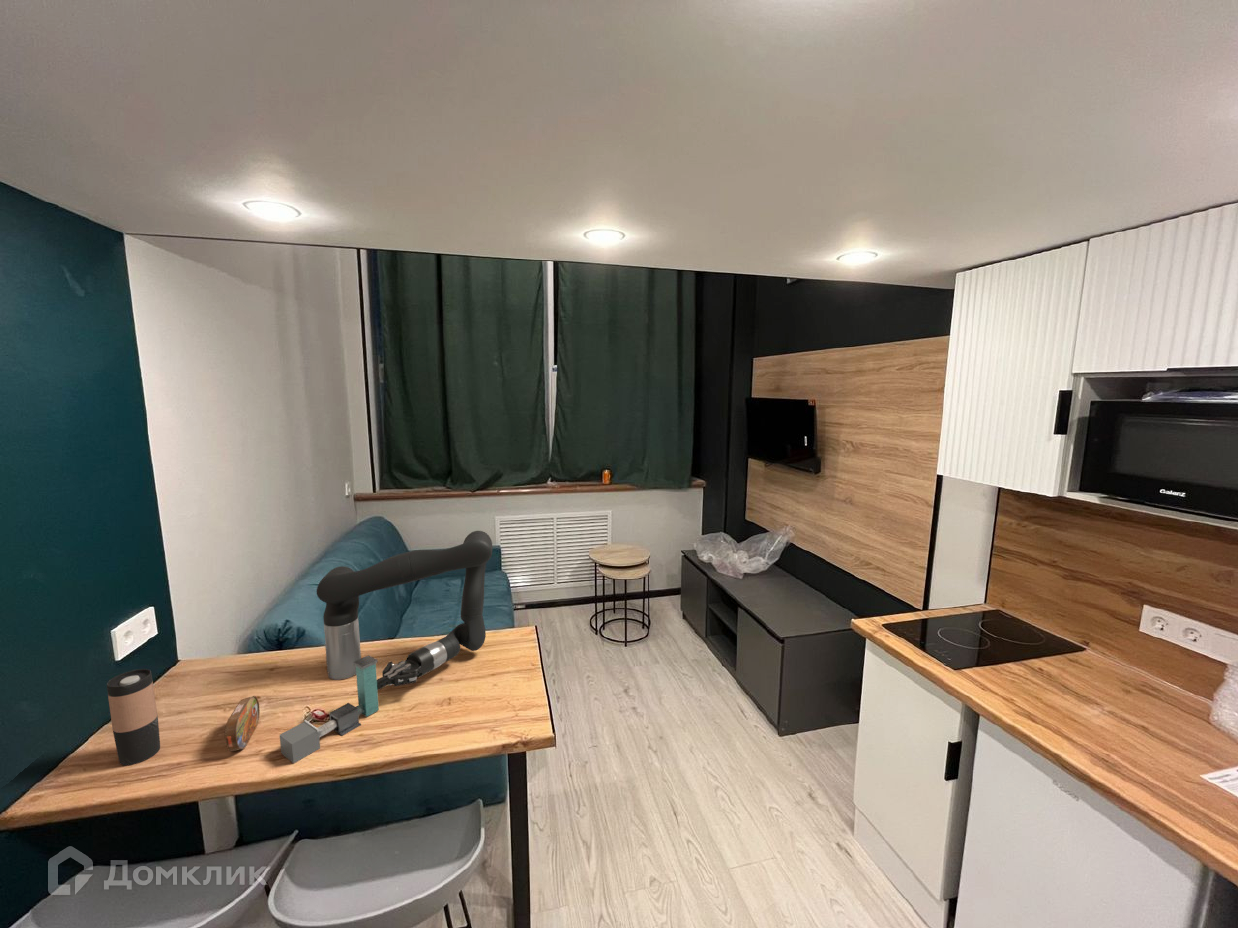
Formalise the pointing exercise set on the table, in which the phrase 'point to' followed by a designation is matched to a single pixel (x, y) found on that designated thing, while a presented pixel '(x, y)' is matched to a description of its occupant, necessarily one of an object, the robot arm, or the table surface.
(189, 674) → the table surface
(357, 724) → the sleeve
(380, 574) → the robot arm
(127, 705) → the travel mug
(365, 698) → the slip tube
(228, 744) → the tin
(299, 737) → the socket
